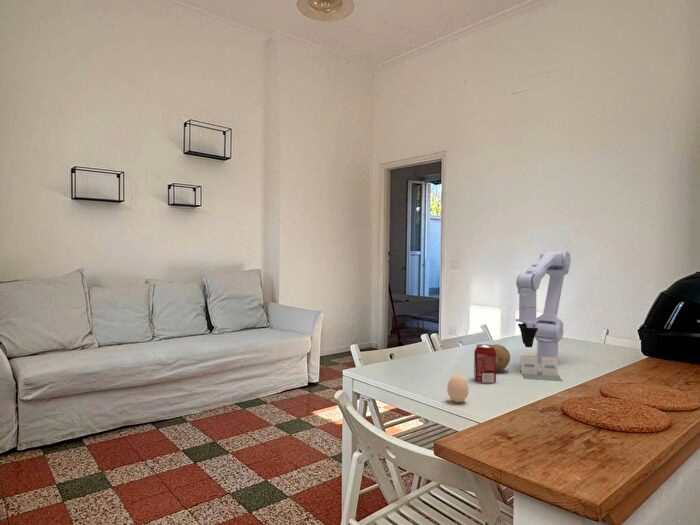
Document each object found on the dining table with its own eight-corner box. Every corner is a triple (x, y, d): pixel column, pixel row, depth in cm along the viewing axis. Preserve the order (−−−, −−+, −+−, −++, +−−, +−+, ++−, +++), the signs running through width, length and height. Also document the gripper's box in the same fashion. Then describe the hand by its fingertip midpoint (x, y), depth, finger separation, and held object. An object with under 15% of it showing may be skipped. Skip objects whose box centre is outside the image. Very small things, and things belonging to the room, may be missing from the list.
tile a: (521, 372, 159) (521, 355, 159) (536, 373, 157) (536, 356, 157) (521, 373, 157) (521, 356, 157) (537, 374, 156) (537, 357, 156)
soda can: (497, 386, 144) (497, 348, 144) (474, 384, 145) (475, 347, 145) (494, 380, 150) (494, 344, 150) (473, 379, 152) (473, 343, 152)
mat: (519, 371, 162) (519, 370, 162) (556, 373, 159) (556, 372, 159) (523, 380, 151) (523, 378, 151) (563, 382, 148) (563, 381, 148)
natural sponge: (503, 377, 154) (503, 348, 154) (478, 372, 160) (478, 344, 160) (514, 372, 161) (514, 344, 161) (490, 368, 167) (490, 341, 167)
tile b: (541, 374, 157) (541, 356, 157) (556, 375, 156) (556, 357, 156) (541, 375, 156) (541, 357, 156) (557, 376, 154) (557, 358, 154)
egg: (462, 406, 123) (462, 378, 123) (443, 402, 127) (443, 375, 127) (472, 401, 128) (472, 374, 128) (453, 397, 131) (453, 371, 131)
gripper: (513, 304, 170) (513, 341, 170) (517, 308, 156) (517, 348, 156) (534, 305, 168) (533, 342, 168) (539, 309, 154) (539, 349, 154)
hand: (527, 345), depth 162 cm, fingers open, 6 cm apart
